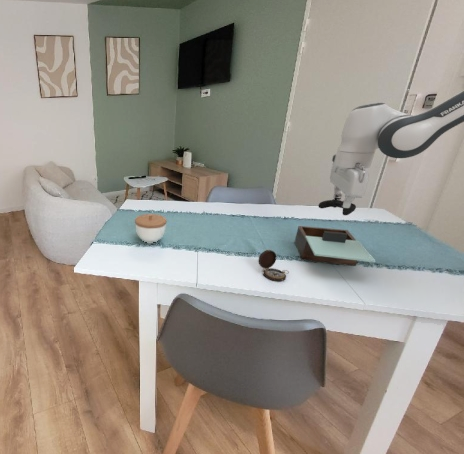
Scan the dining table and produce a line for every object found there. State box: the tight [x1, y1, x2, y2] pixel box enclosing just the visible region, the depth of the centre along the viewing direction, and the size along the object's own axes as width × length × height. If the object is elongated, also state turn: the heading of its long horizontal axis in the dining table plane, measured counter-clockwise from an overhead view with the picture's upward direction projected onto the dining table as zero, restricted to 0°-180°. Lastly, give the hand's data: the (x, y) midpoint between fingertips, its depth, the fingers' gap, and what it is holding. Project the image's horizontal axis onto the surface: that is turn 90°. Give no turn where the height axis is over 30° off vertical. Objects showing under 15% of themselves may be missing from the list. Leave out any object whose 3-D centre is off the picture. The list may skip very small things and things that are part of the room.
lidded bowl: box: [134, 213, 168, 244], centre depth 118 cm, size 13×13×11 cm
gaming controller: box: [318, 198, 357, 216], centre depth 96 cm, size 10×5×6 cm
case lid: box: [305, 231, 376, 263], centre depth 91 cm, size 15×14×4 cm
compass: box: [257, 249, 290, 282], centre depth 91 cm, size 8×8×7 cm
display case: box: [294, 225, 358, 267], centre depth 102 cm, size 15×14×7 cm
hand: (340, 203), depth 95 cm, fingers closed on gaming controller, 7 cm apart
